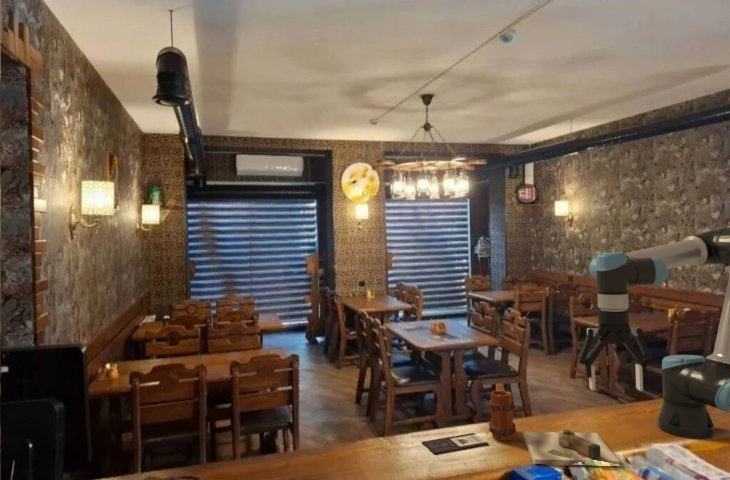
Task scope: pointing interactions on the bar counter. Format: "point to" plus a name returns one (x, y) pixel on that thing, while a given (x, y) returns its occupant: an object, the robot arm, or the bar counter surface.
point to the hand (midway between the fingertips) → (615, 389)
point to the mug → (502, 414)
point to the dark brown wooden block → (579, 444)
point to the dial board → (563, 449)
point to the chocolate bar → (454, 443)
